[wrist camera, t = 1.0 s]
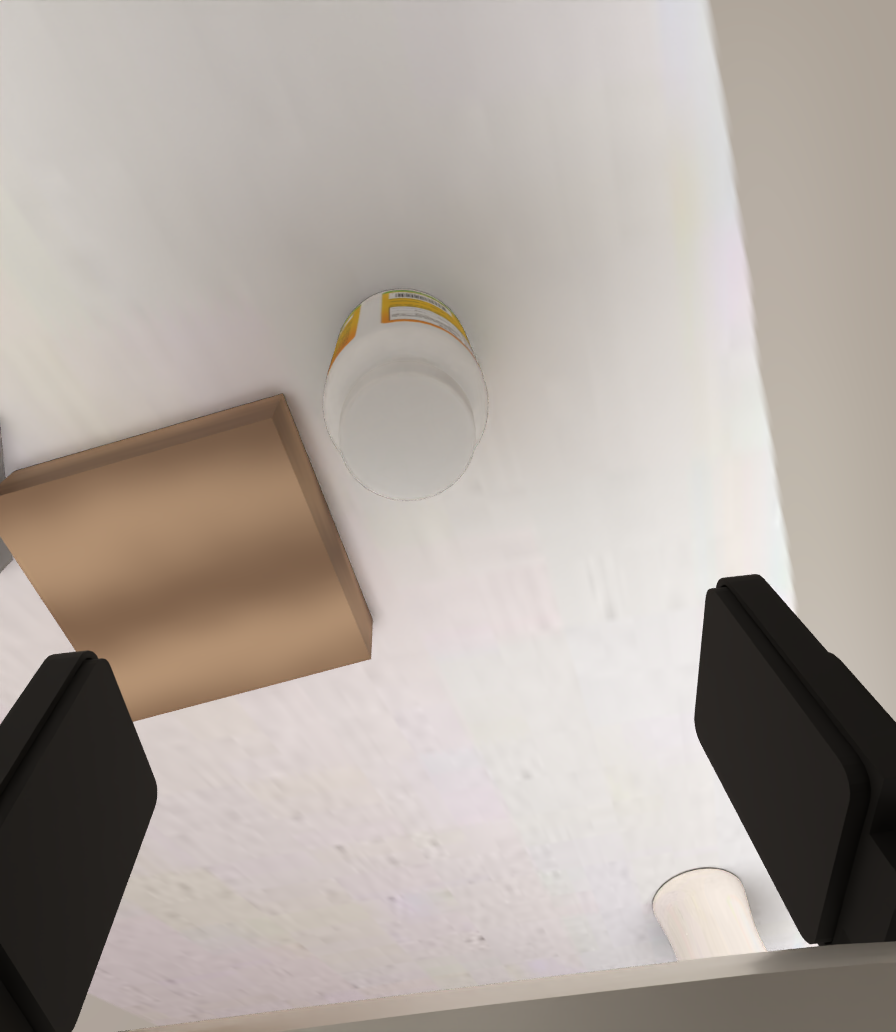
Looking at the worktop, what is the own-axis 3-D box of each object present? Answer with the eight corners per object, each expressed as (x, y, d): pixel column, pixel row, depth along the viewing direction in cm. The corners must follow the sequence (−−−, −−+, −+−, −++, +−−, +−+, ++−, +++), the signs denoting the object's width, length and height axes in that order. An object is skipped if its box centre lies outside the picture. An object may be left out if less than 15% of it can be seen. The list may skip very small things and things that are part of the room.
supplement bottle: (374, 437, 30) (367, 550, 22) (312, 322, 28) (276, 398, 19) (488, 385, 30) (528, 479, 21) (435, 262, 27) (455, 313, 19)
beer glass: (749, 853, 45) (899, 1147, 32) (748, 919, 48) (884, 1212, 35) (642, 874, 45) (746, 1175, 32) (648, 938, 48) (745, 1236, 35)
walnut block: (14, 471, 30) (-23, 502, 27) (282, 393, 29) (271, 417, 27) (144, 681, 35) (124, 724, 33) (372, 620, 35) (370, 659, 32)
